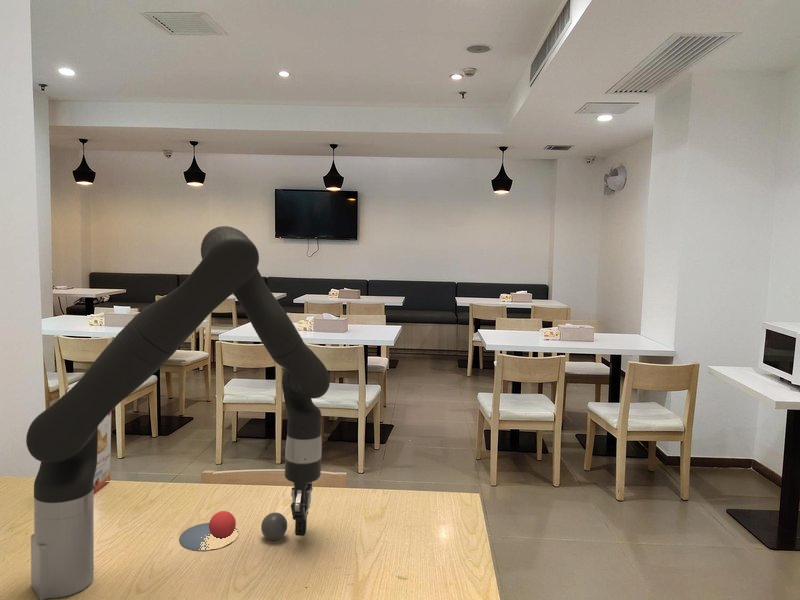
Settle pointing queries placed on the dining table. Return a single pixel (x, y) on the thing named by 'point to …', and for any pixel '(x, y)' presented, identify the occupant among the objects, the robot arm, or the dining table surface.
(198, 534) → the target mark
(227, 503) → the dining table surface
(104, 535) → the dining table surface
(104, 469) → the cracker box
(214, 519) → the red ball
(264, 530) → the gray ball
